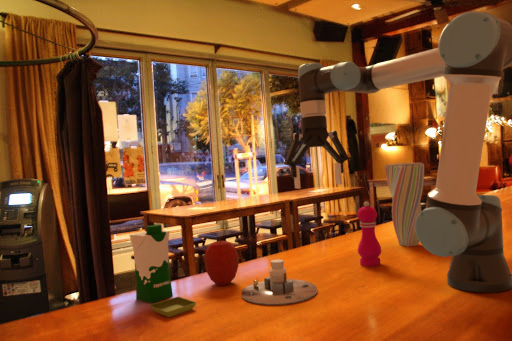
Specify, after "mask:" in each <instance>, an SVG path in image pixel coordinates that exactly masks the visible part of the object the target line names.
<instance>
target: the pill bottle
mask: <svg viewBox="0 0 512 341" xmlns="http://www.w3.org/2000/svg"><path fill="white" fill-rule="evenodd" d="M270 267H271V268H270V270H269V277H270V285H271V290H272V283H280V282H285V281H287V279H288V278H287V270H286V267H285V260H283V259H278V258H277V259H271V261H270Z"/></svg>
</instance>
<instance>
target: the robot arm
mask: <svg viewBox="0 0 512 341" xmlns="http://www.w3.org/2000/svg"><path fill="white" fill-rule="evenodd" d="M437 45H438V46H437V47H436V48H432V49H428V50H424V51H420V52H418V53H417V52H416V53H414V54H409V55H405V56H402V57H398V58H393V59H391V60H386V61H383V62H378V63H376V64H372V65H368V66H358V65H357V64H355V62H353V61H345V62H342V61H341V62H338V63H336V64H332V65H330V66H326V67H325V66H324V67H323V65H322V64H321V63H319V62H311V63H310V62H309V63H304V64H302V65H300V66H299V67H298V71H297V72H298V73H297V77H298V78H297V82H298V91H299V105H300V116H301V117H302V118H300V119H301V120H300V122H301V131H302V132H301V133H298V132H295V133H292V138H291V140H292V141H291V143H290V146H289V148H288V151H287V154H286V157H285V159H284V161H283V165H285V166H288V167H290V177H291V178H293V180H294V182H293V183H294V189H297V190H298V189H299V190H300V189H301V188H302V187H301V175H300V166H297V165H298V164H299V162H300V161H301V159H302V158H303V156H304V155H305V153H306V152H307V151H308V149H309V148H315V147H316V148H320V147H321V148H324V149H325V151H326V152H327V153H328V155H330V156H331V157H332V158H333V160H335V161H336V162H334V178H335V179H334V180H335V185H343V182H342V181H343V180H342V179H343V178H342V177H343V176H342V174H344V163H345V162H346V161H348V160H349V156H348V154H347V152H346V150H345V148H344V147H343V144H342V142H341V140H340V139H339V135H338V131H337V130H331V131H330V132H329V131H328V124H327V123H328V122H327V116H326V114H327V110H326V109H327V108H326V94H327V95H328V94H331V93H337V92H338V93H339V92H343V93H359V94H360V93H361V94H368V95H369V94H374V93H378V92H380V91H381V90H383V89H384V90H385V89H388V88H394V87H398V86H403V85H404V86H405V85H409V84H412V83H418V82H423V81H427V80H428V81H429V80H432V79H436V78H437V79H438V78H441V77H443V78H444V79H445V80H446V81H447V82H448V83H449V85H448V86H449V88H448V96H447V101H446V102H447V103H446V109H445V116H444V124H443V131H442V138H441V145H440V152H439V161H438V165H437V166H438V167H437V175H436V183H435V187H434V188H433V189H432V190H431V191H429V192H428V193H427V197H426V204H425V208H423V210H421V211H422V212H421V213H420V214H419V215H418V216H417V218H416V221H415V232H416V236H417V238H418V240H419V243H420V244H421V245H422V247H423V248H424V249H425V250H426V251H427V252H429V253H431V254H432V255H434V256H436V257H437V256H438V257H451V260H450V262H449V263H450V264H449V269H448V271H447V273H446V278H447V279H446V281H447V284H448V285H449V286H450V287H452V288H454V289H457V290H462V291H466V292H472V293H473V292H474V293H499V292H500V293H501V292H506V291H509V290H511V289H512V273H511V270H510V267H509V265H508V262H507V260H506V257H505V254H504V253H505V252H504V238H503V237H504V235H503V233H504V232H503V215H502V214H503V213H502V212H503V208H502V205H501V199H500V197H499V196H497V195H493V194H477V187H478V180H479V172H480V167H481V160H482V154H483V148H484V141H485V135H486V129H487V128H486V127H487V121H488V115H489V111H490V110H489V109H490V102H491V96H492V89H493V87H494V85H495V84H496V83H498V82H500V80H501V79H502V77H503V70H505V69H507V68H508V67H510V66H511V65H512V21H509V20H507V19H503V18H500V17H498V16H494V15H493V14H491V13H488V12H486V11H485V12H484V11H483V12H481V11H467V12H463V13H461V14H458V15H457V16H456V17H454V18H452V19H451V21H449V22H448V23H447V24H446V25H445V26H444V28H443V29H442V32H441V33H440V36H439V38H438V44H437ZM328 138H329V139H330V140H331V143H332V144H333V145H334V147H335V148H334V147H333V146H332V145H331V143H330V142H329V141H328ZM301 139H302V141H303V143H302V145H301V146H300V148H299V150H298V151H297V153H296V150H297V148H298V145H299V141H301ZM335 149H336V150H335ZM295 153H296V154H295ZM294 155H295V156H294Z"/></svg>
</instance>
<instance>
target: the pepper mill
mask: <svg viewBox="0 0 512 341" xmlns="http://www.w3.org/2000/svg"><path fill="white" fill-rule="evenodd" d="M377 218H378V212H377V209H376V208H374V206H370V202H369V201H364V202H363V206H362V207H360V208H358V210H357V219H359V227H361V238H360V241H359V244H358V247H357V253H358V255H359V256H360V257H361V258H359V264H360V265H361V266H362V267H369V268H370V267H378V266H381V264H382V263H381V258H380V257H379V256H381V254H382V246H381V244H380V243H379V240H378V239H377V236H376V229H375V228H376V227H377V221H376V219H377Z"/></svg>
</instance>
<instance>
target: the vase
mask: <svg viewBox="0 0 512 341" xmlns="http://www.w3.org/2000/svg"><path fill="white" fill-rule="evenodd" d="M384 172H385V177H386V182H387V185H388V189H389V193H390V194H391V198H392V200H391V202H392V204H391V218H392V224H393V228H394V231H395V232H394V233H395V235H396V239H397V242H398V246H403V247H413V246H419V244H420V241H419V240H418V238H417V236H416V232H415V221H416V218H417V216H418V215H419V214H420V213H421V212H422V211H423V210H422V204H421V199H422V196H423V195H422V194H423V191H424V190H423V189H424V182H425V180H424V179H425V178H424V177H425V164H424V163H422V162H405V163H393V164H392V163H390V164H386V165H385V166H384Z"/></svg>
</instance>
